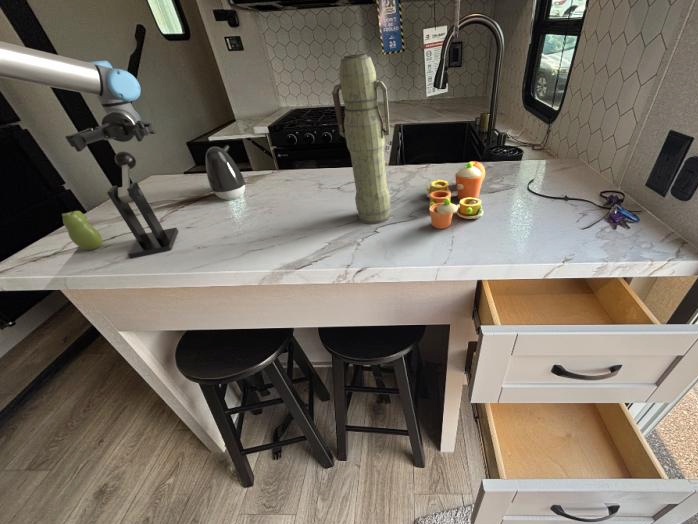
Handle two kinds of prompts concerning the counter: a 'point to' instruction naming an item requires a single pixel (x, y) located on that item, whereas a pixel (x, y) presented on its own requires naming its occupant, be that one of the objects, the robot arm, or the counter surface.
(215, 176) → the pump dispenser
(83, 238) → the pear
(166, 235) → the dark grey slanted stand
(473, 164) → the clementine
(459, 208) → the toy tea set
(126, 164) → the lever with ball knob
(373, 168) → the thermos
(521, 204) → the counter surface
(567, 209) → the counter surface
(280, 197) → the counter surface
